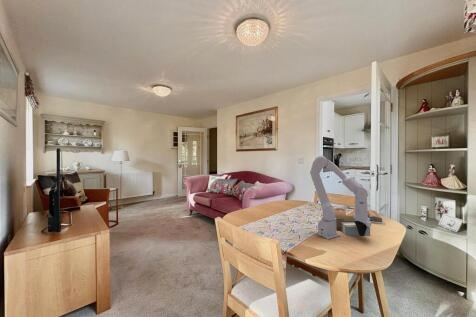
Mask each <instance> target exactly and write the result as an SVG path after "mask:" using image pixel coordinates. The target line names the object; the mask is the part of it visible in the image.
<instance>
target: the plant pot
mask: <svg viewBox="0 0 476 317" xmlns="http://www.w3.org/2000/svg"><path fill="white" fill-rule="evenodd" d="M334 210H335V216H347V209H346V208H341V207H338V208H337V207H336V208H334Z"/></svg>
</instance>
